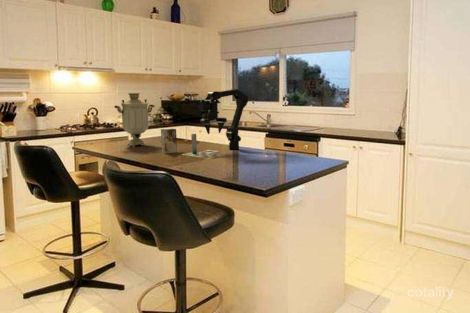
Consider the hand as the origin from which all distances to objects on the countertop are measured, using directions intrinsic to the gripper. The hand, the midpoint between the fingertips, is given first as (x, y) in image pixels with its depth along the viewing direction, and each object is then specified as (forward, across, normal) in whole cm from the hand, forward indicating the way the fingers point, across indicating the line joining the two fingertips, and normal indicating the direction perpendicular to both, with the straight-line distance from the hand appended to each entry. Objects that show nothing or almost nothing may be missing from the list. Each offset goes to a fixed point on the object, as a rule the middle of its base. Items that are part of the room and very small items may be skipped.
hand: (214, 133), depth 270 cm
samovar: (+13, +23, -70) cm, 75 cm away
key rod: (+12, +17, +1) cm, 20 cm away
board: (+13, +16, +7) cm, 21 cm away
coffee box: (+13, +22, -22) cm, 34 cm away
